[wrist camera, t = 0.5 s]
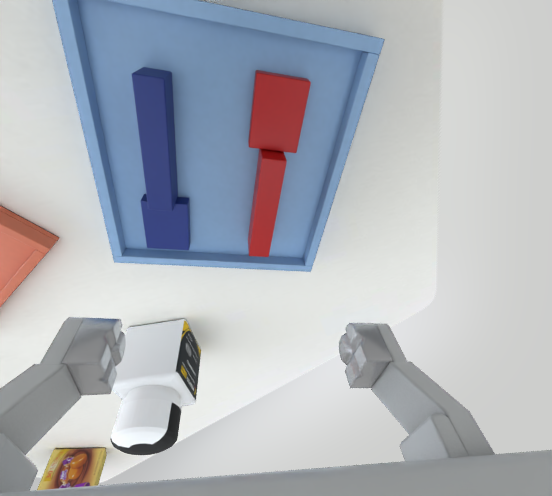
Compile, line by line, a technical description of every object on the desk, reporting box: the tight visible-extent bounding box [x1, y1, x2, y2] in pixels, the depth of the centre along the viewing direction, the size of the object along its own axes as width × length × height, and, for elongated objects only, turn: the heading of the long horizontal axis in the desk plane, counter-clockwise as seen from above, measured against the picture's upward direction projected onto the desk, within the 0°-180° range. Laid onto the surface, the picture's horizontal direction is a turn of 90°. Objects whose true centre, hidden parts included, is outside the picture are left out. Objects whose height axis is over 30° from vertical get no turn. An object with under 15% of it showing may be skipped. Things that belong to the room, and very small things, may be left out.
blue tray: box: [52, 0, 384, 272], centre depth 23 cm, size 20×19×2 cm
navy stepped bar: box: [132, 67, 191, 250], centre depth 22 cm, size 14×4×3 cm, turn 171°
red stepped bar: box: [248, 70, 311, 257], centre depth 23 cm, size 14×4×3 cm, turn 171°
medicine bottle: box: [111, 319, 201, 455], centre depth 32 cm, size 7×7×12 cm
